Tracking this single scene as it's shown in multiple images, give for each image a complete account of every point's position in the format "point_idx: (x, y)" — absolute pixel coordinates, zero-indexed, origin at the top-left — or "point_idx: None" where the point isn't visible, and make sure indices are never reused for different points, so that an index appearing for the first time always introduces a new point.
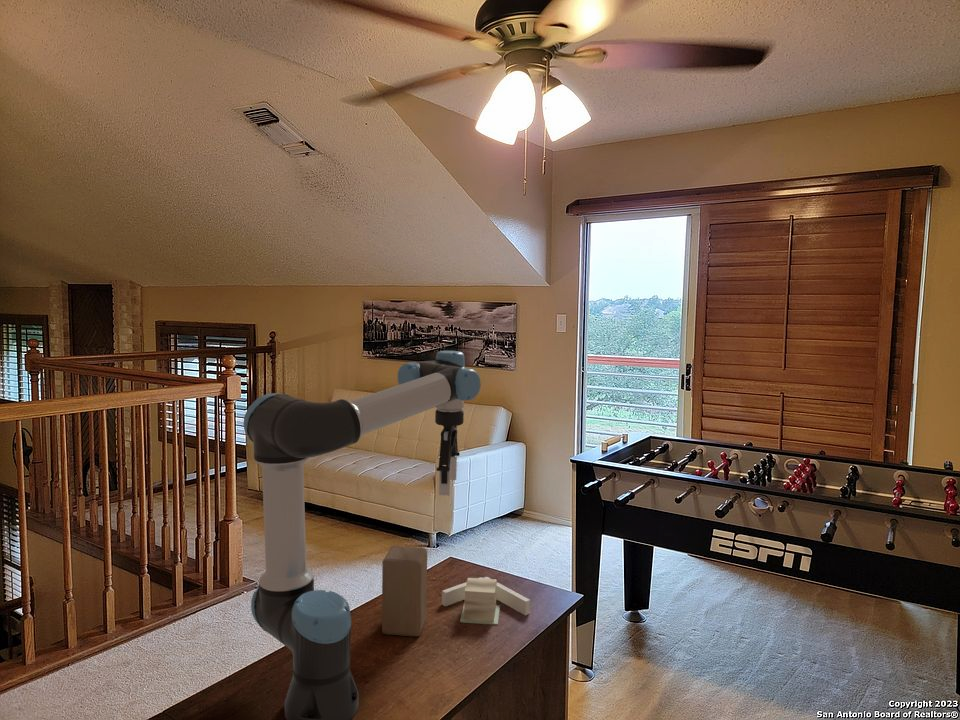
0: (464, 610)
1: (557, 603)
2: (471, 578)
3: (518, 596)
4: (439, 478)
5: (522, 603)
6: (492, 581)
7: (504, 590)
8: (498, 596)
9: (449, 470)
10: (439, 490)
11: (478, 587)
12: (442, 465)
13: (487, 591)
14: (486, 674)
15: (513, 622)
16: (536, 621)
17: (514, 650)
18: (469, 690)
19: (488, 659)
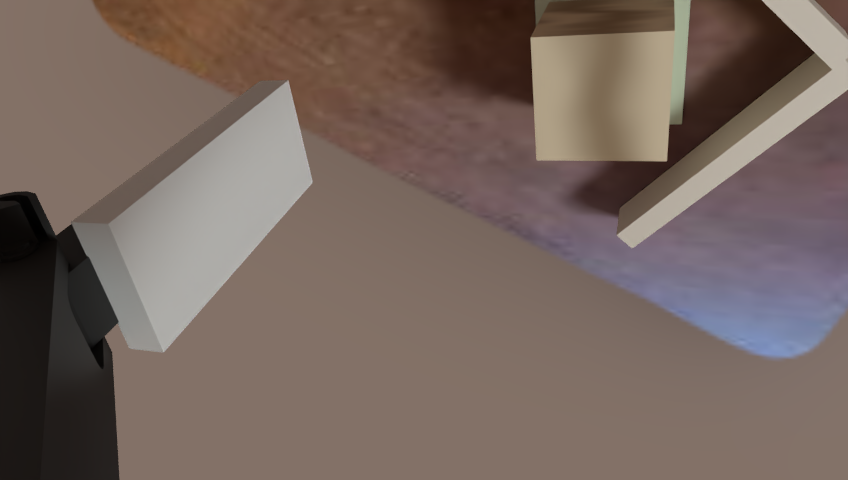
0: (543, 13)
1: (721, 305)
2: (667, 49)
3: (655, 212)
4: (150, 165)
5: (630, 217)
6: (644, 144)
7: (712, 160)
8: (740, 120)
9: (148, 343)
10: (233, 104)
11: (574, 92)
12: (62, 302)
13: (543, 131)
14: None
15: (567, 172)
16: (585, 238)
17: (405, 177)
18: (198, 76)
19: (340, 111)
